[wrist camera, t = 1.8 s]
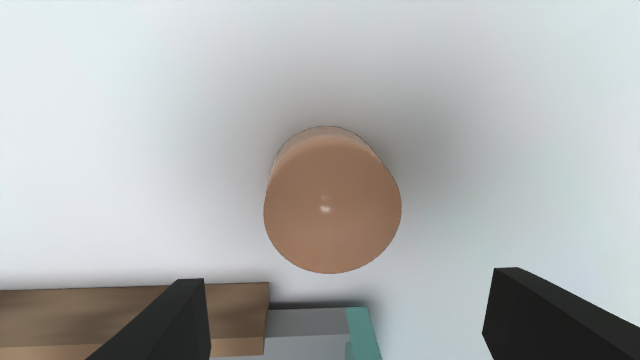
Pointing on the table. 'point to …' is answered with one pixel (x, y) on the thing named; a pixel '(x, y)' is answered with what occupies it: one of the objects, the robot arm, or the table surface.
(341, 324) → the tray
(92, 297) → the housing
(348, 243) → the tan short cylinder
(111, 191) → the table surface
